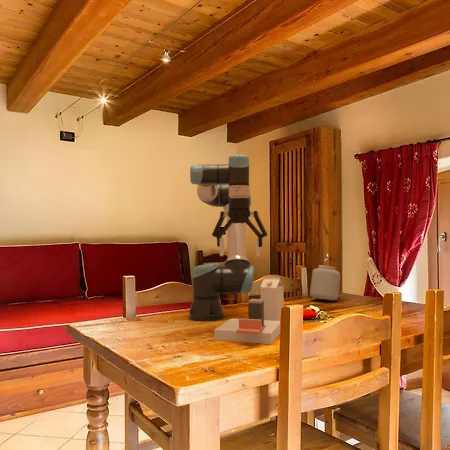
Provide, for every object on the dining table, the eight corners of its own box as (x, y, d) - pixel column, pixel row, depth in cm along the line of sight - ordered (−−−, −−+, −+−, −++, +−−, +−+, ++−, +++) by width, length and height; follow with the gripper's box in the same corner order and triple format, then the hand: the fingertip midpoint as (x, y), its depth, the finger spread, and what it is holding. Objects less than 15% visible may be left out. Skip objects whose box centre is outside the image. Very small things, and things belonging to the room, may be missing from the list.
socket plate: (231, 327, 166) (231, 318, 166) (282, 330, 160) (282, 321, 160) (214, 339, 147) (214, 329, 147) (271, 343, 141) (271, 333, 141)
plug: (251, 334, 154) (251, 298, 154) (264, 335, 152) (263, 299, 152) (248, 337, 149) (248, 300, 150) (261, 338, 148) (260, 301, 148)
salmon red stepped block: (242, 328, 148) (242, 316, 148) (263, 329, 145) (263, 317, 145) (236, 333, 140) (236, 321, 141) (258, 334, 138) (258, 322, 138)
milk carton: (268, 320, 178) (267, 275, 178) (284, 322, 174) (283, 275, 174) (260, 324, 172) (260, 276, 172) (276, 326, 168) (276, 277, 168)
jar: (325, 297, 240) (324, 252, 241) (348, 300, 229) (347, 253, 230) (304, 300, 228) (303, 254, 228) (327, 304, 217) (327, 255, 217)
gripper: (203, 198, 155) (203, 256, 156) (271, 196, 149) (271, 257, 149) (209, 199, 163) (210, 254, 163) (274, 197, 156) (275, 255, 156)
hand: (239, 256), depth 156 cm, fingers open, 13 cm apart
